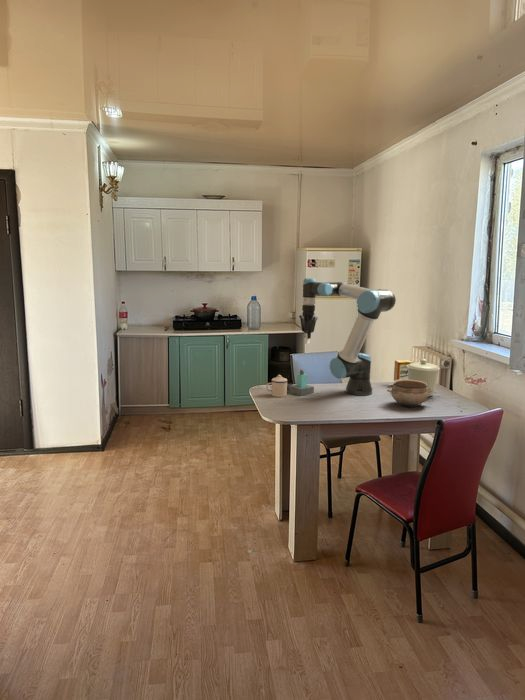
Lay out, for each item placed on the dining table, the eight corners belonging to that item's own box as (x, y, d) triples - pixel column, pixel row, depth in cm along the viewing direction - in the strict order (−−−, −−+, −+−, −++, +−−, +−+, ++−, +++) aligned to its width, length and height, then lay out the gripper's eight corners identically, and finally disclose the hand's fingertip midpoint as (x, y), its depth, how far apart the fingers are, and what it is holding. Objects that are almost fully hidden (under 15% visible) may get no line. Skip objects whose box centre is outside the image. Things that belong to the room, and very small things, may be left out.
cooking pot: (393, 411, 264) (394, 387, 262) (379, 401, 282) (381, 379, 280) (439, 409, 267) (441, 386, 265) (422, 400, 286) (424, 378, 284)
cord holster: (298, 390, 304) (298, 385, 303) (289, 391, 299) (289, 387, 299) (290, 387, 309) (290, 383, 309) (281, 389, 305) (281, 385, 304)
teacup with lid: (285, 393, 296) (285, 373, 294) (288, 397, 287) (289, 376, 285) (264, 393, 294) (265, 373, 292) (267, 397, 285) (267, 377, 283)
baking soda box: (396, 387, 314) (398, 361, 311) (393, 385, 320) (394, 359, 318) (412, 387, 315) (413, 361, 312) (408, 385, 321) (410, 359, 318)
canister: (443, 395, 297) (446, 359, 293) (426, 400, 285) (429, 363, 281) (416, 389, 310) (418, 354, 306) (398, 394, 298) (400, 358, 295)
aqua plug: (306, 393, 297) (306, 370, 295) (301, 394, 294) (301, 370, 292) (301, 391, 300) (301, 368, 298) (296, 392, 297) (296, 369, 295)
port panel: (313, 393, 296) (313, 386, 296) (301, 396, 290) (301, 389, 290) (301, 389, 304) (301, 383, 303) (288, 392, 298) (289, 385, 297)
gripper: (296, 303, 310) (295, 342, 314) (312, 305, 300) (311, 345, 304) (305, 303, 315) (303, 341, 319) (321, 305, 305) (319, 344, 309)
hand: (307, 343), depth 312 cm, fingers closed
